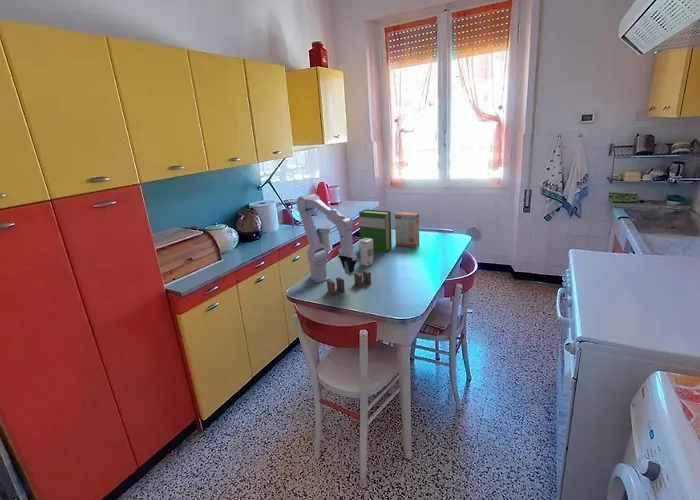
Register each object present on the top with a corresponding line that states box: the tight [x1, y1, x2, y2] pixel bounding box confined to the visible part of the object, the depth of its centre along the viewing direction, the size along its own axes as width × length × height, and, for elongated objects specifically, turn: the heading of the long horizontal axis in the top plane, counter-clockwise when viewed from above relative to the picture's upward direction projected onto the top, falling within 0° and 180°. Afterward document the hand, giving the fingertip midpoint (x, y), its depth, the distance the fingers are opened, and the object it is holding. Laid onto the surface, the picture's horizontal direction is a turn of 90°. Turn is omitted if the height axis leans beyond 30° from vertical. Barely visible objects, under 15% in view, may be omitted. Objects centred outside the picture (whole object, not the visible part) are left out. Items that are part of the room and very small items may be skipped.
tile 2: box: [335, 277, 346, 294], centre depth 175 cm, size 2×5×6 cm, turn 29°
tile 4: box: [362, 269, 372, 285], centre depth 182 cm, size 2×5×6 cm, turn 29°
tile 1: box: [326, 279, 337, 297], centre depth 173 cm, size 2×5×6 cm, turn 29°
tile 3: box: [353, 271, 364, 288], centre depth 179 cm, size 2×5×6 cm, turn 29°
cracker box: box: [394, 211, 420, 248], centre depth 228 cm, size 14×6×21 cm, turn 58°
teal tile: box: [344, 261, 354, 277], centre depth 175 cm, size 2×5×6 cm, turn 29°
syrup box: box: [358, 238, 375, 267], centre depth 203 cm, size 6×6×14 cm
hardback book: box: [358, 208, 393, 253], centre depth 225 cm, size 18×7×24 cm, turn 58°
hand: (348, 270), depth 175 cm, fingers closed on teal tile, 5 cm apart
